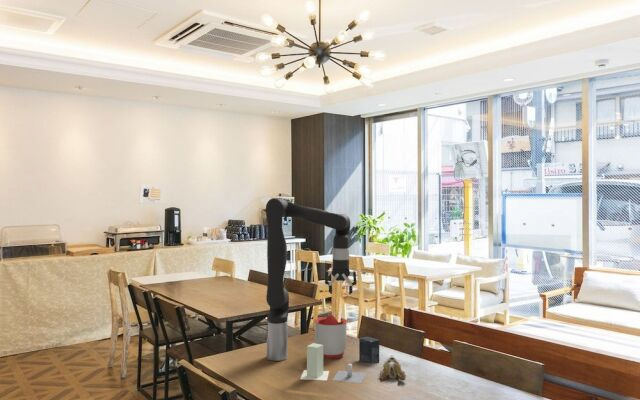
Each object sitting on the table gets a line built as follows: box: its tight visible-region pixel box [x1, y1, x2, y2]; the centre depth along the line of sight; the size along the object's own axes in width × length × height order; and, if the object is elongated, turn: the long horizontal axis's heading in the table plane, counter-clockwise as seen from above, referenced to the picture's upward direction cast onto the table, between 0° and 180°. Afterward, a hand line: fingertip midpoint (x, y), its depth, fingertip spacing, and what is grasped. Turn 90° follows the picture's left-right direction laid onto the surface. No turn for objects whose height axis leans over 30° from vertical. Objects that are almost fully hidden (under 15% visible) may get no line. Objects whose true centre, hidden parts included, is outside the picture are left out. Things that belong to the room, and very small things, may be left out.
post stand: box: [332, 363, 367, 384], centre depth 204 cm, size 12×12×6 cm
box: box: [358, 336, 380, 364], centre depth 226 cm, size 8×6×11 cm
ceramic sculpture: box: [379, 355, 406, 381], centre depth 206 cm, size 11×9×15 cm
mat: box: [300, 369, 330, 382], centre depth 205 cm, size 11×11×1 cm
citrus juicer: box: [314, 314, 348, 360], centre depth 235 cm, size 16×17×20 cm
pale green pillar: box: [306, 342, 324, 378], centre depth 206 cm, size 5×5×12 cm
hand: (340, 294), depth 221 cm, fingers open, 8 cm apart
